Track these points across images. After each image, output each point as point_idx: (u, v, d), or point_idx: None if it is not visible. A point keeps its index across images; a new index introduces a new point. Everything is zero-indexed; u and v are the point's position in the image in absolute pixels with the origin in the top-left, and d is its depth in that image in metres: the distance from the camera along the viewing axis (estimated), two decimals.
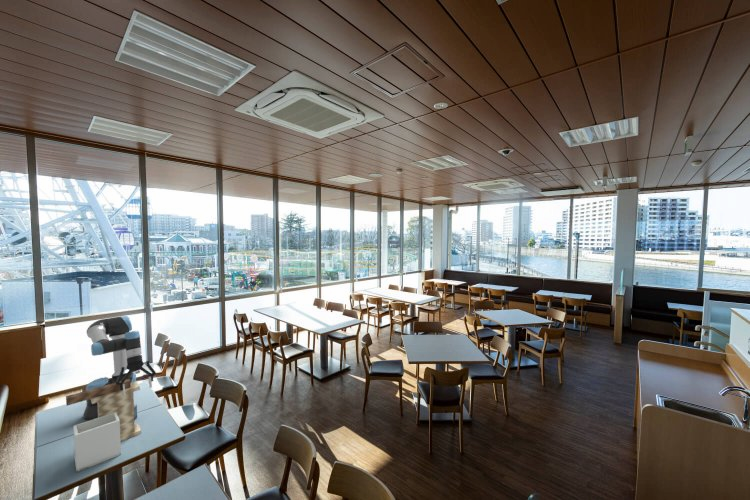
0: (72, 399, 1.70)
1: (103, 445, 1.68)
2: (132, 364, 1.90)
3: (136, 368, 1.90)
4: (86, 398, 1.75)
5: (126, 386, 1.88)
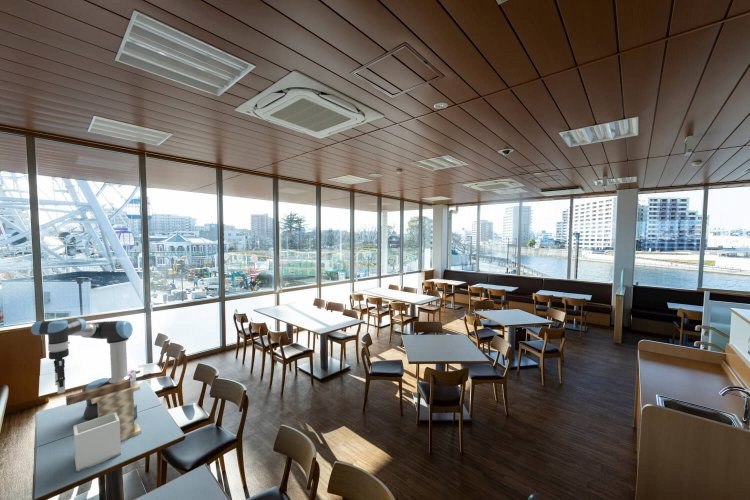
0: (72, 399, 1.70)
1: (103, 445, 1.68)
2: None
3: None
4: (86, 398, 1.75)
5: (126, 386, 1.88)
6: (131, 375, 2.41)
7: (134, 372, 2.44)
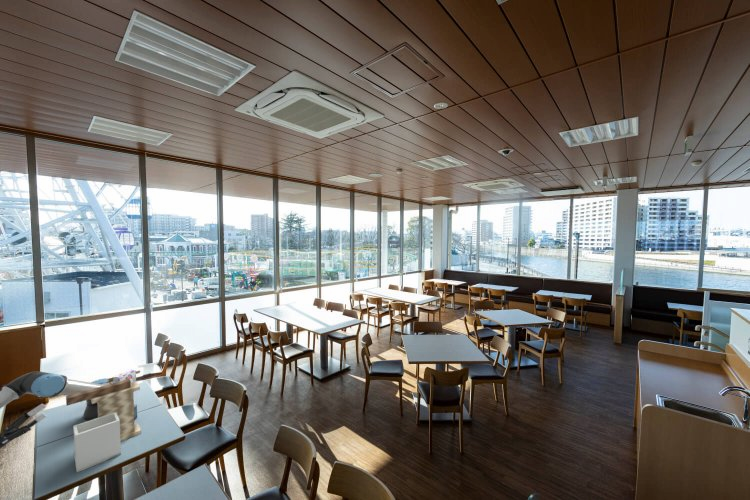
0: (72, 399, 1.70)
1: (103, 445, 1.68)
2: (1, 437, 1.52)
3: (9, 430, 1.55)
4: (86, 398, 1.75)
5: (126, 386, 1.88)
6: (131, 375, 2.41)
7: (134, 372, 2.44)
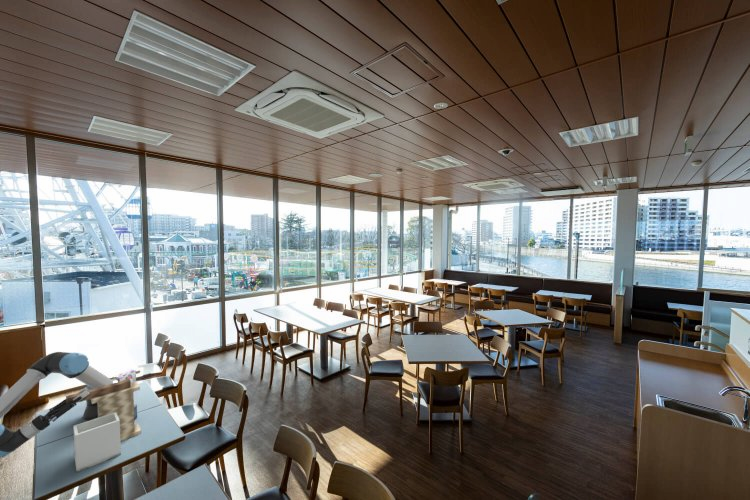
0: (72, 399, 1.70)
1: (103, 445, 1.68)
2: (44, 419, 1.63)
3: (52, 412, 1.67)
4: (86, 398, 1.75)
5: (126, 386, 1.88)
6: (131, 375, 2.41)
7: (134, 372, 2.44)
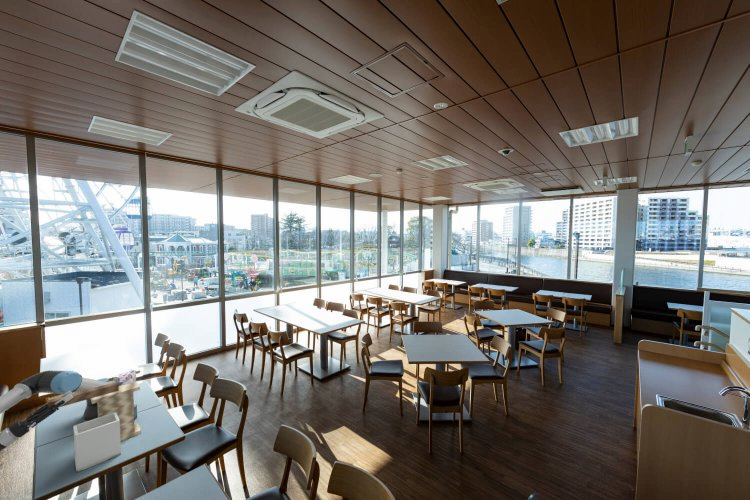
0: (54, 403, 1.58)
1: (103, 445, 1.68)
2: (22, 425, 1.50)
3: None
4: (69, 402, 1.62)
5: (114, 389, 1.75)
6: (131, 375, 2.41)
7: (134, 372, 2.44)
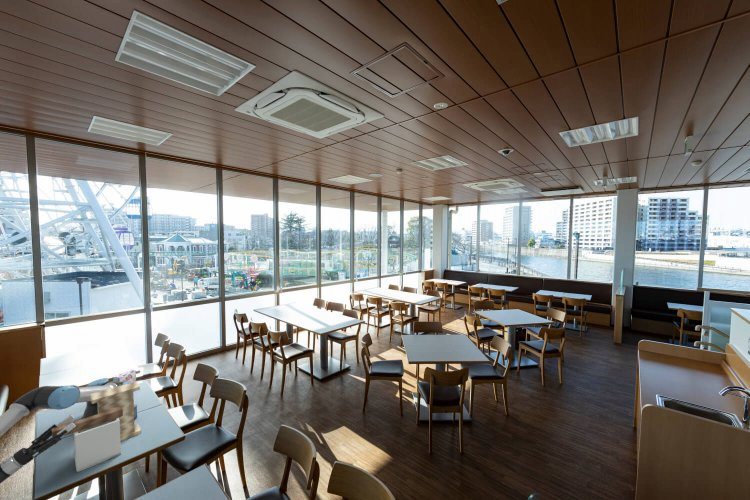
0: (58, 432, 1.57)
1: (103, 445, 1.68)
2: (28, 452, 1.50)
3: (36, 444, 1.53)
4: (74, 430, 1.62)
5: (118, 415, 1.75)
6: (131, 375, 2.41)
7: (134, 372, 2.44)
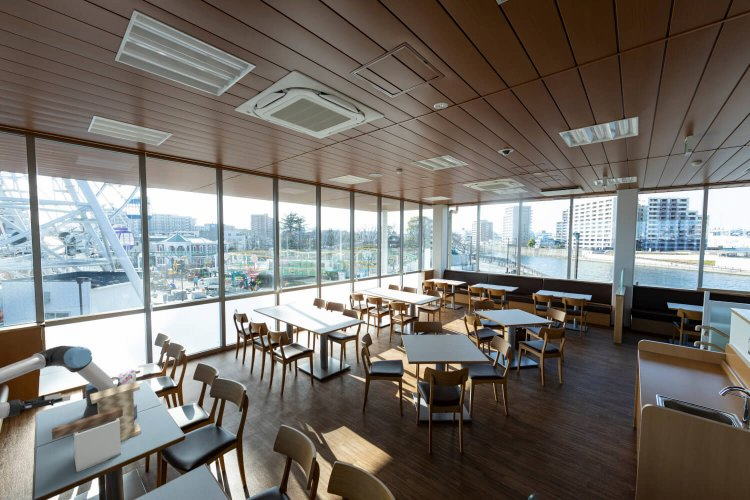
0: (58, 432, 1.57)
1: (103, 445, 1.68)
2: (22, 404, 1.56)
3: None
4: (74, 430, 1.62)
5: (118, 415, 1.75)
6: (131, 375, 2.41)
7: (134, 372, 2.44)
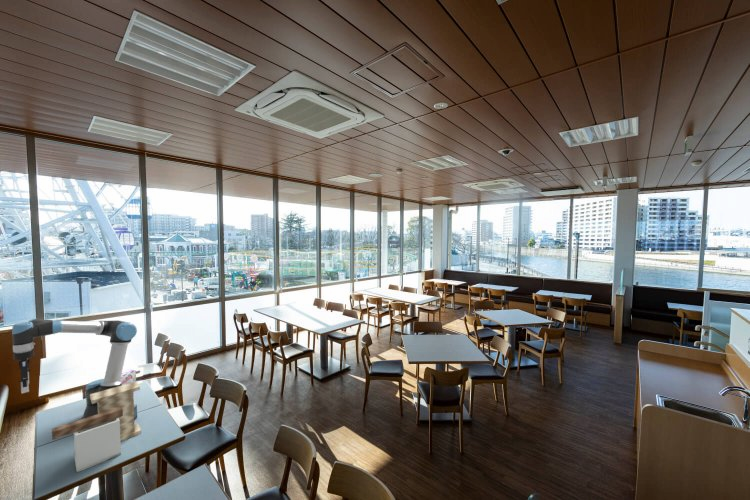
0: (58, 432, 1.57)
1: (103, 445, 1.68)
2: (27, 359, 1.70)
3: (27, 363, 1.71)
4: (74, 430, 1.62)
5: (118, 415, 1.75)
6: (131, 375, 2.41)
7: (134, 372, 2.44)
